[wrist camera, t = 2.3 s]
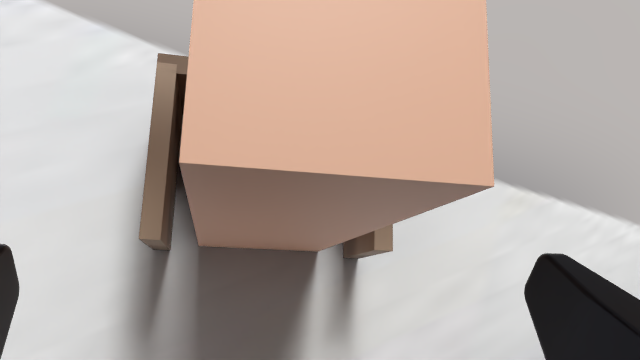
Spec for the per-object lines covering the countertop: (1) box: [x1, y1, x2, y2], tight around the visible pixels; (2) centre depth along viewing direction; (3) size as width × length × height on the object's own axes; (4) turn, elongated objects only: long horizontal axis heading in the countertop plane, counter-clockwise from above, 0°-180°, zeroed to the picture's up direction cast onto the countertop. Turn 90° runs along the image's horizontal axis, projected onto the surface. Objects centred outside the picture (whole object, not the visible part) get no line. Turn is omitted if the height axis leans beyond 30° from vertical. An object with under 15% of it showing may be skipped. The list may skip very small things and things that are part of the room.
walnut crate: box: [139, 53, 393, 259], centre depth 18 cm, size 6×8×4 cm
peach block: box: [179, 0, 494, 252], centre depth 14 cm, size 4×4×13 cm
